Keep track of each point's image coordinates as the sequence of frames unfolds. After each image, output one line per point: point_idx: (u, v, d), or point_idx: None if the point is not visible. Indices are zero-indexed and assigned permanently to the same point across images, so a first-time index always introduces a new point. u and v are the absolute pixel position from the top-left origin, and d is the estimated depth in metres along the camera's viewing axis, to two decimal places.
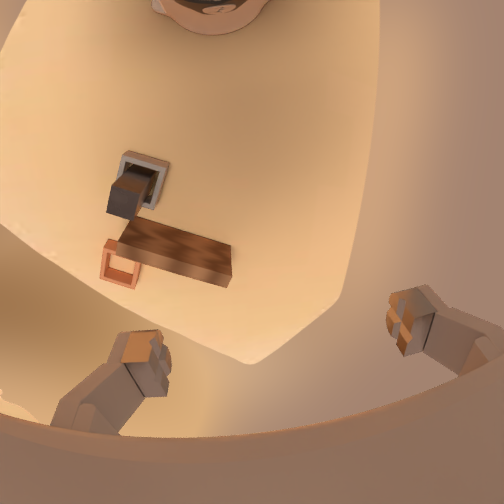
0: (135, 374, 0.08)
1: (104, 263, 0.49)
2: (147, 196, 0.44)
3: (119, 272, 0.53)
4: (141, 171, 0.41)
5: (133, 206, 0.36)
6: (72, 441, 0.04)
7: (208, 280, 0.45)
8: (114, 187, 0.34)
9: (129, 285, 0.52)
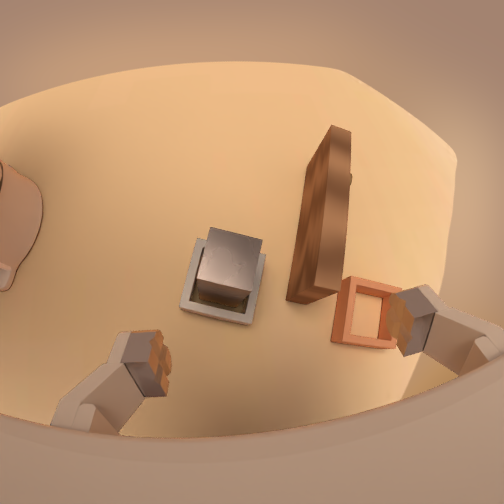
0: (135, 374, 0.08)
1: (369, 339, 0.30)
2: None
3: (382, 321, 0.33)
4: None
5: (233, 238, 0.22)
6: (72, 441, 0.04)
7: (347, 151, 0.29)
8: (200, 272, 0.21)
9: None
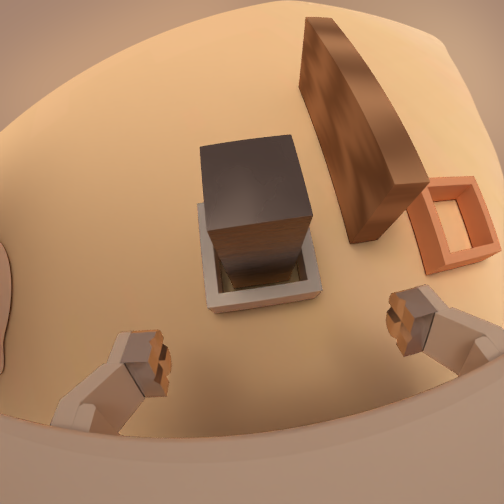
0: (135, 374, 0.08)
1: (472, 250, 0.18)
2: None
3: (469, 226, 0.22)
4: None
5: (244, 147, 0.12)
6: (72, 441, 0.04)
7: (339, 33, 0.18)
8: (210, 219, 0.11)
9: (474, 187, 0.20)
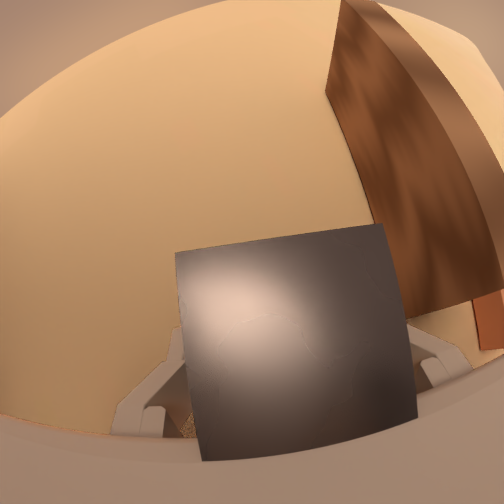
0: None
1: None
2: None
3: None
4: None
5: (281, 260, 0.05)
6: (72, 441, 0.04)
7: (392, 21, 0.11)
8: (208, 445, 0.04)
9: None
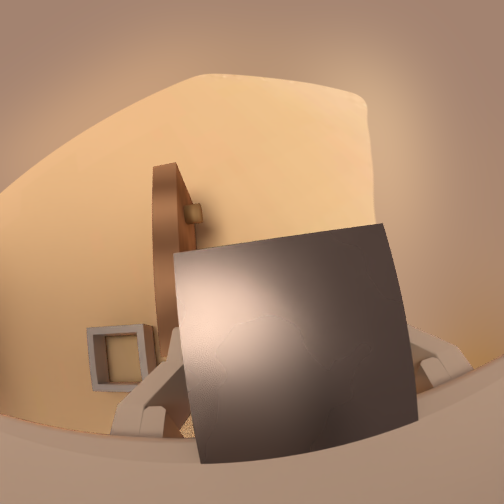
0: None
1: None
2: None
3: None
4: None
5: (281, 261, 0.05)
6: (72, 441, 0.04)
7: (172, 189, 0.27)
8: (207, 447, 0.04)
9: None
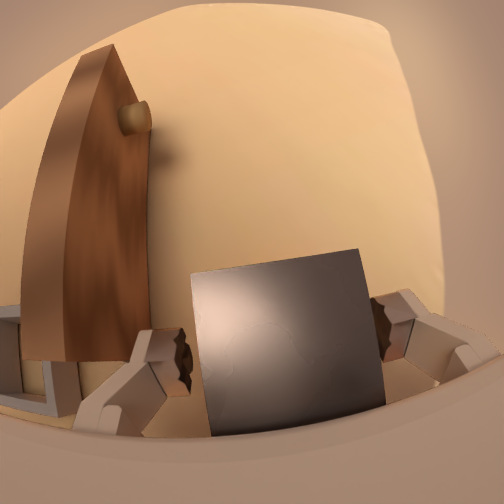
0: (159, 373, 0.08)
1: None
2: None
3: None
4: None
5: (275, 280, 0.07)
6: (72, 441, 0.04)
7: (97, 71, 0.13)
8: (218, 425, 0.06)
9: None
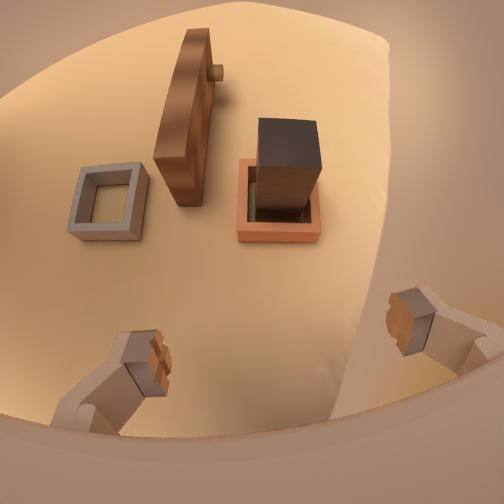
0: (135, 374, 0.08)
1: (276, 224, 0.25)
2: None
3: (305, 208, 0.29)
4: None
5: (286, 123, 0.19)
6: (72, 441, 0.04)
7: (201, 42, 0.24)
8: (261, 159, 0.18)
9: None
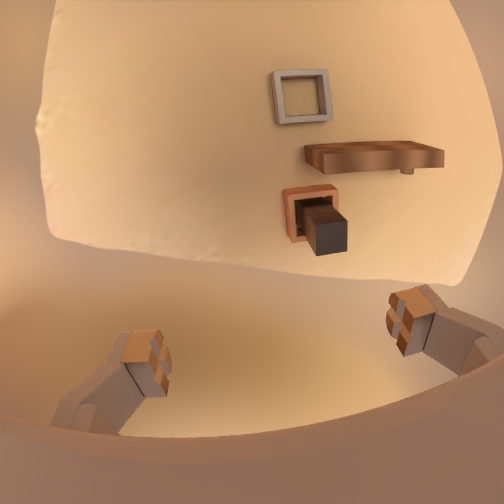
0: (135, 374, 0.08)
1: (294, 217, 0.41)
2: None
3: None
4: (314, 202, 0.41)
5: (344, 236, 0.34)
6: (72, 441, 0.04)
7: (427, 165, 0.33)
8: (318, 226, 0.34)
9: None
